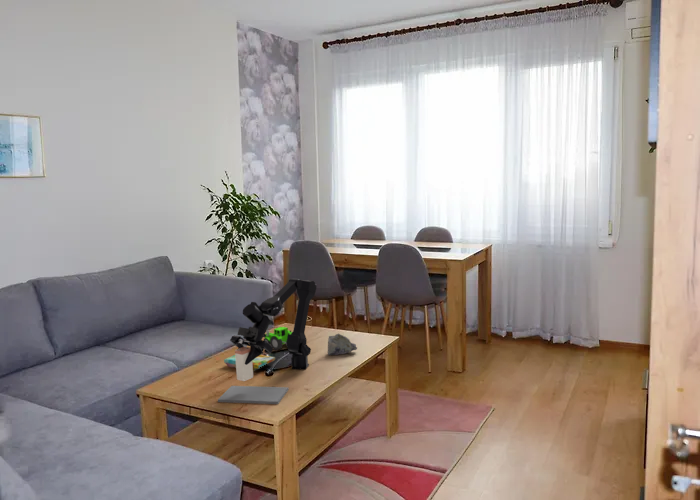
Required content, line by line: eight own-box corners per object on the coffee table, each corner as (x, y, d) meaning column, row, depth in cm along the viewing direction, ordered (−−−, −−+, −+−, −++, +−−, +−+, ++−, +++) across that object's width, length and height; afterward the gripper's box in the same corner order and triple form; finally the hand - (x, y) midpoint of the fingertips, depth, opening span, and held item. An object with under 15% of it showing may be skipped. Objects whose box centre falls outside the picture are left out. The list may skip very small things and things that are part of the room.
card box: (246, 375, 222) (244, 346, 220) (253, 377, 219) (251, 348, 218) (236, 379, 218) (234, 350, 216) (244, 381, 215) (242, 351, 214)
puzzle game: (241, 350, 261) (274, 355, 251) (241, 359, 262) (275, 365, 251) (223, 357, 251) (258, 363, 241) (224, 367, 252) (258, 374, 241)
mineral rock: (358, 352, 265) (357, 332, 264) (347, 359, 256) (346, 338, 254) (335, 349, 271) (334, 329, 270) (323, 355, 262) (322, 335, 260)
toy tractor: (274, 341, 289) (273, 322, 288) (297, 346, 279) (296, 326, 277) (259, 346, 280) (258, 327, 279) (281, 352, 270) (280, 332, 269)
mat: (288, 389, 221) (288, 387, 221) (278, 404, 208) (278, 401, 208) (231, 388, 226) (231, 385, 225) (217, 402, 212) (217, 399, 212)
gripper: (231, 316, 224) (212, 350, 216) (265, 321, 213) (247, 357, 206) (246, 329, 231) (229, 363, 224) (280, 335, 221) (263, 370, 213)
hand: (241, 363), depth 217 cm, fingers closed on card box, 4 cm apart
